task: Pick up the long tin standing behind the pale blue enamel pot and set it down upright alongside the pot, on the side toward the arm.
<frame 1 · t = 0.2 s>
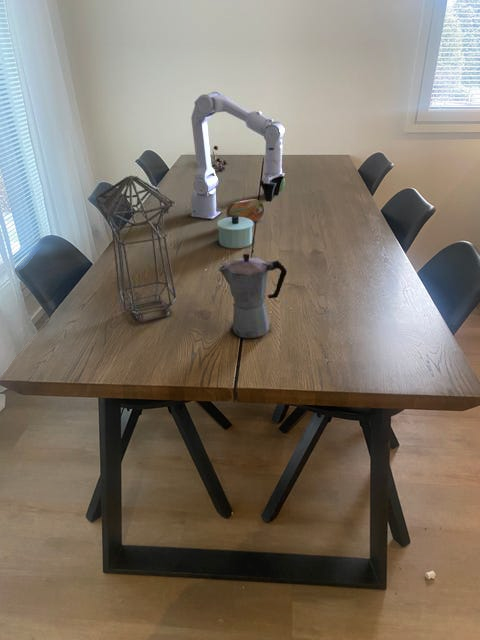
hand: (272, 198, 167), 10 cm above the table, tool pointing down, fingers open, 7 cm apart
geometric lantern: (150, 311, 119), on the table
pot: (235, 241, 158), on the table
tin: (245, 222, 174), on the table
moka pot: (252, 329, 112), on the table
decorative branch: (218, 167, 246), on the table
pot lid: (235, 224, 154), point 6 cm above the table, touching pot
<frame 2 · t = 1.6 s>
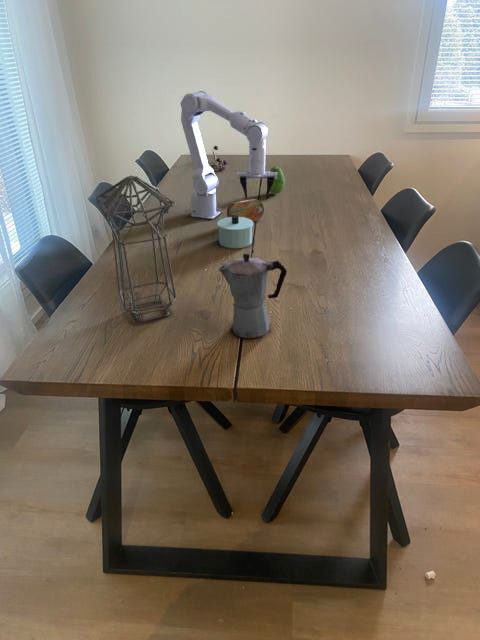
hand: (256, 198, 168), 10 cm above the table, tool pointing down, fingers open, 7 cm apart
nothing on the table moved.
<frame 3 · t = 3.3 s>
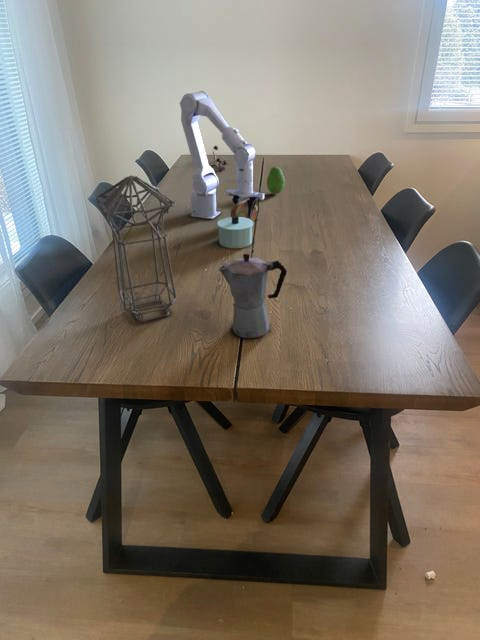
hand: (245, 216, 173), 2 cm above the table, tool pointing down, fingers closed on tin, 3 cm apart
tin: (244, 223, 174), on the table, touching gripper
everything else where it was.
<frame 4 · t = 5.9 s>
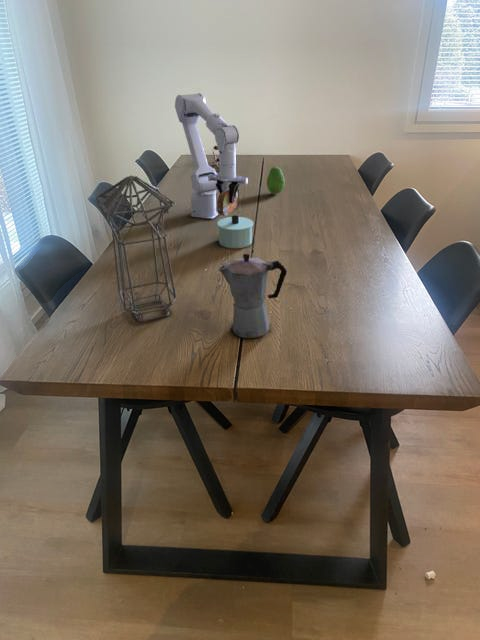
hand: (228, 202, 165), 9 cm above the table, tool pointing down, fingers closed on tin, 2 cm apart
tin: (227, 211, 167), point 6 cm above the table, touching gripper
everything else where it was.
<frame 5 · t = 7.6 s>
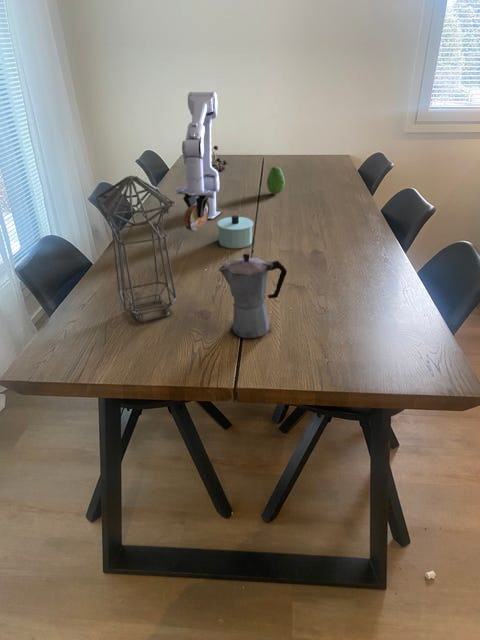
hand: (197, 216, 160), 7 cm above the table, tool pointing down, fingers closed on tin, 2 cm apart
tin: (196, 226, 162), point 3 cm above the table, touching gripper
everything else where it was.
when the fingers open (3 cm above the table, at t = 8.6 s): tin stays where it is, on the table.
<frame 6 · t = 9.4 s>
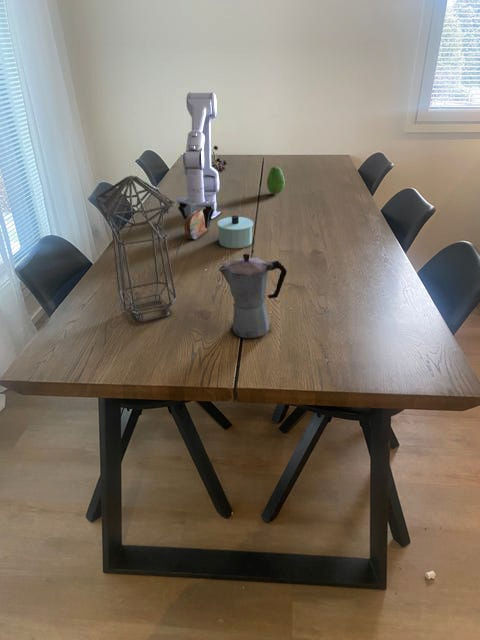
hand: (197, 225, 162), 3 cm above the table, tool pointing down, fingers open, 7 cm apart
tin: (197, 235, 164), on the table
everything else where it was.
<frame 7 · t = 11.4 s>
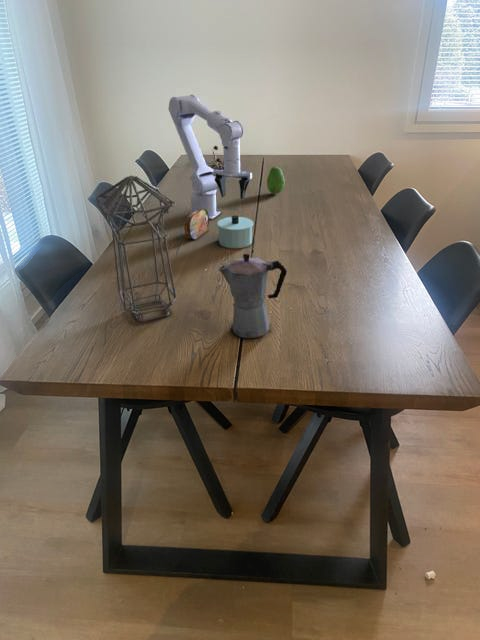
hand: (233, 197, 167), 10 cm above the table, tool pointing down, fingers open, 7 cm apart
nothing on the table moved.
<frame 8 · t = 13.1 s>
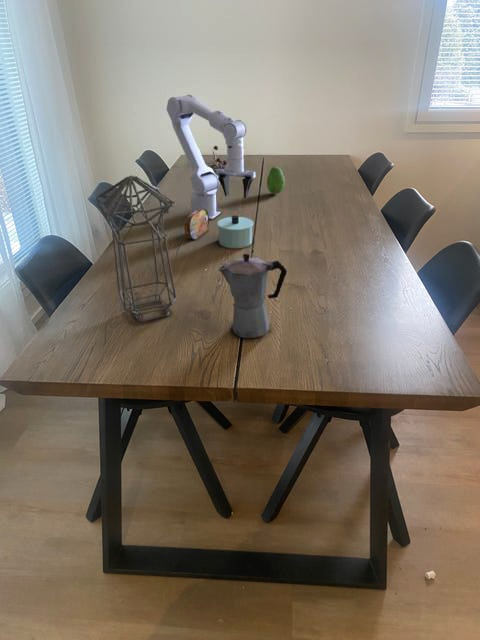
hand: (236, 196, 168), 10 cm above the table, tool pointing down, fingers open, 7 cm apart
nothing on the table moved.
at the end: tin inside the target area on the table beside the pot (1.6 cm from its centre), on the table; tin tilted 0°; the gripper is holding nothing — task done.
